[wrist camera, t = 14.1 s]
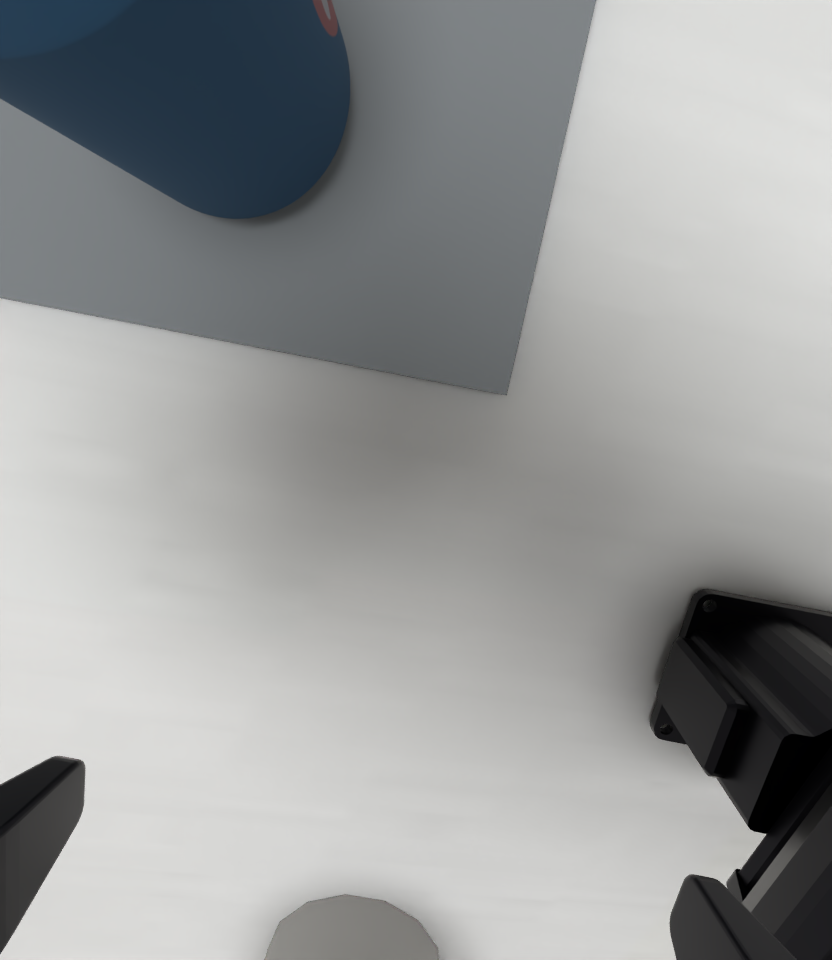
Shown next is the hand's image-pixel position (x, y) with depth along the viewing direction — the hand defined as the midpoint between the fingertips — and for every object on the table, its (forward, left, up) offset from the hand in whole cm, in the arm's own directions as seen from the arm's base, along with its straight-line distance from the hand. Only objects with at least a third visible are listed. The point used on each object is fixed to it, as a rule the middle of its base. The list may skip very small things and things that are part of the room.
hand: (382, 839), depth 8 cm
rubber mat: (+8, -13, -13) cm, 20 cm away
